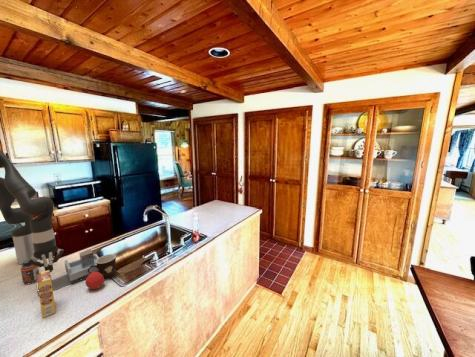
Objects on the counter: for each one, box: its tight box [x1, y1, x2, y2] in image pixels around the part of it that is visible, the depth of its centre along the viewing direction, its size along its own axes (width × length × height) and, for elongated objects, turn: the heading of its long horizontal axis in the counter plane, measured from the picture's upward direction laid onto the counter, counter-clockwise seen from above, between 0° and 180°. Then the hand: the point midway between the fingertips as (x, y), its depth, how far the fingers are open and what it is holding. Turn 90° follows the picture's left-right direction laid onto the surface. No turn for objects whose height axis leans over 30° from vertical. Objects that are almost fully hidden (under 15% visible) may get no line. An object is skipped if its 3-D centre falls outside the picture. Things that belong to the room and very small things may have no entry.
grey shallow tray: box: [64, 253, 100, 283], centre depth 106 cm, size 14×14×8 cm
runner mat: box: [36, 271, 97, 298], centre depth 102 cm, size 11×26×1 cm, turn 138°
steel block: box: [78, 249, 94, 269], centre depth 106 cm, size 5×5×8 cm
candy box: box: [36, 270, 56, 319], centre depth 81 cm, size 9×4×15 cm, turn 47°
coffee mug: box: [88, 253, 117, 281], centre depth 102 cm, size 12×9×10 cm
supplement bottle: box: [20, 260, 40, 285], centre depth 99 cm, size 6×6×11 cm
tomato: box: [84, 272, 105, 290], centre depth 95 cm, size 8×8×8 cm
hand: (49, 271), depth 96 cm, fingers closed
